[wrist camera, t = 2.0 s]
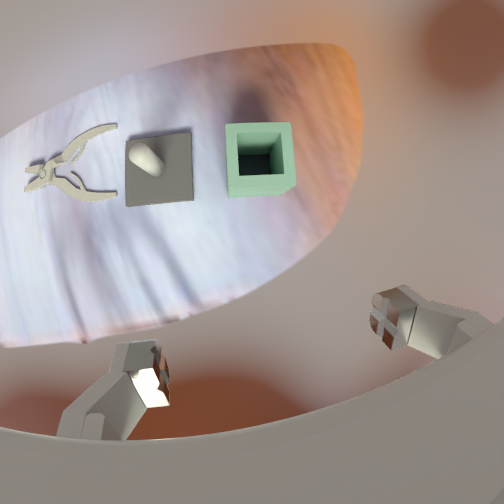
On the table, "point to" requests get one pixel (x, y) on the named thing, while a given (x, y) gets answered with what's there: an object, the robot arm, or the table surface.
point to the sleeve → (260, 142)
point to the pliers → (49, 174)
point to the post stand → (159, 170)
